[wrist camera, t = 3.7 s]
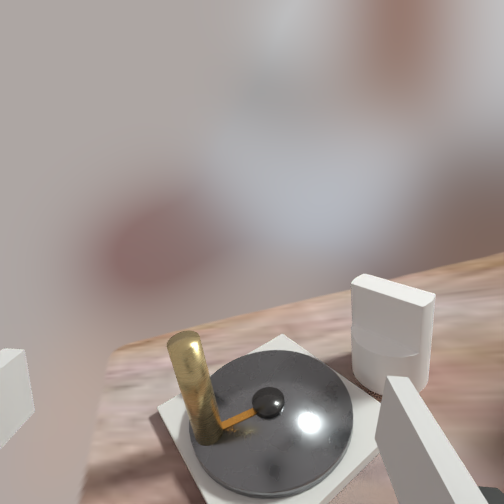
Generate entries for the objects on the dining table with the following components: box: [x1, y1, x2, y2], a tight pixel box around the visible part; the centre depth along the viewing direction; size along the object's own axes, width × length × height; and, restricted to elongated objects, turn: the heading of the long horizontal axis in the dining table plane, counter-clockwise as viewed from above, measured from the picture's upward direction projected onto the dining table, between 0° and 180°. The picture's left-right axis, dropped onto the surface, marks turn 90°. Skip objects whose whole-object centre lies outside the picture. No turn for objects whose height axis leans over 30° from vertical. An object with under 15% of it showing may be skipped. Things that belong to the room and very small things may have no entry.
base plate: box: [157, 334, 381, 504], centre depth 37 cm, size 20×20×3 cm
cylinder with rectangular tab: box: [351, 274, 436, 395], centre depth 40 cm, size 9×9×12 cm
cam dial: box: [167, 331, 353, 499], centre depth 34 cm, size 18×18×13 cm
